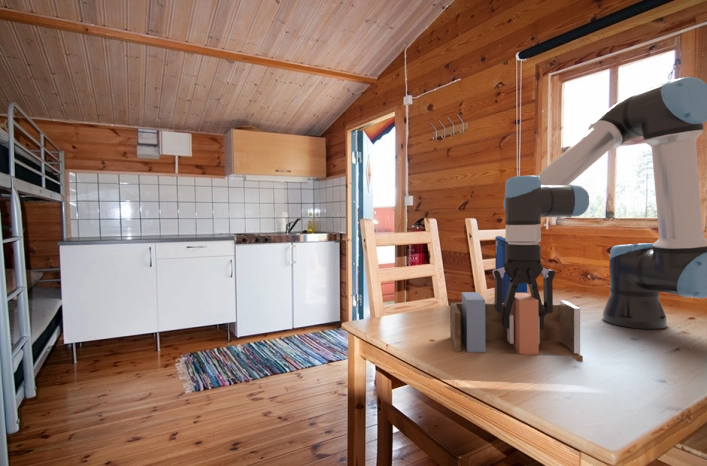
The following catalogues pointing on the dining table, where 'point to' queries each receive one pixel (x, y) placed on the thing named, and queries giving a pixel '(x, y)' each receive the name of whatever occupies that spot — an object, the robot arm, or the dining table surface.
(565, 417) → the dining table surface
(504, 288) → the book
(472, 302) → the book
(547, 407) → the dining table surface
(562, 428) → the dining table surface
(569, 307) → the bookend
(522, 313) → the book
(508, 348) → the shelf
